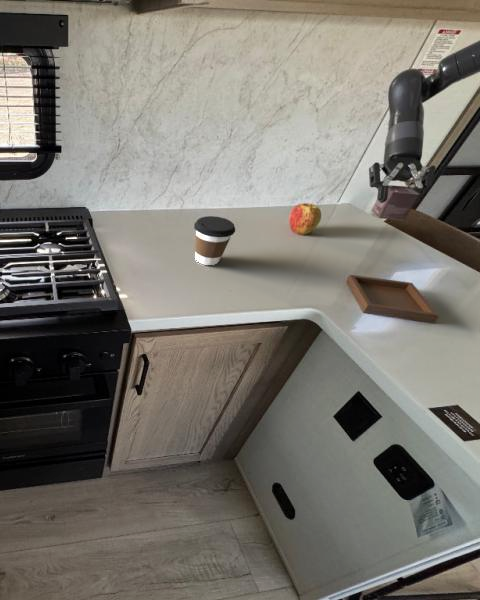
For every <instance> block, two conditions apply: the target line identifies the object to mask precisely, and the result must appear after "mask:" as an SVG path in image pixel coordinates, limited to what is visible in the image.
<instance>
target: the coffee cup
mask: <svg viewBox="0 0 480 600" xmlns="http://www.w3.org/2000/svg"><path fill="white" fill-rule="evenodd" d="M193 229H194V230H195V234H194V235H195V237H194V238H195V239H194V252H195V254H194V258H195V261H196V260H197V261H196V263H197V262H199V263H201V264H204V265H214V266H216V265H217V264H218V263H219V262H220V260H221V257H222V256H223V255H224V253H225V250H226V248H227V246H228V244H229V242H230V240H231V237H232V235H234V234H235V233H236V227H235V224H234V222H232V221H231V220H230V219H228V218H225V217H220V216H213V215H210V216H208V215H207V216H202V217H200V218H198V219H197V220H196V221H195V222H194V225H193ZM199 263H198V264H199ZM201 264H200V265H201ZM215 264H216V265H215ZM204 265H203V266H204Z"/></svg>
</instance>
